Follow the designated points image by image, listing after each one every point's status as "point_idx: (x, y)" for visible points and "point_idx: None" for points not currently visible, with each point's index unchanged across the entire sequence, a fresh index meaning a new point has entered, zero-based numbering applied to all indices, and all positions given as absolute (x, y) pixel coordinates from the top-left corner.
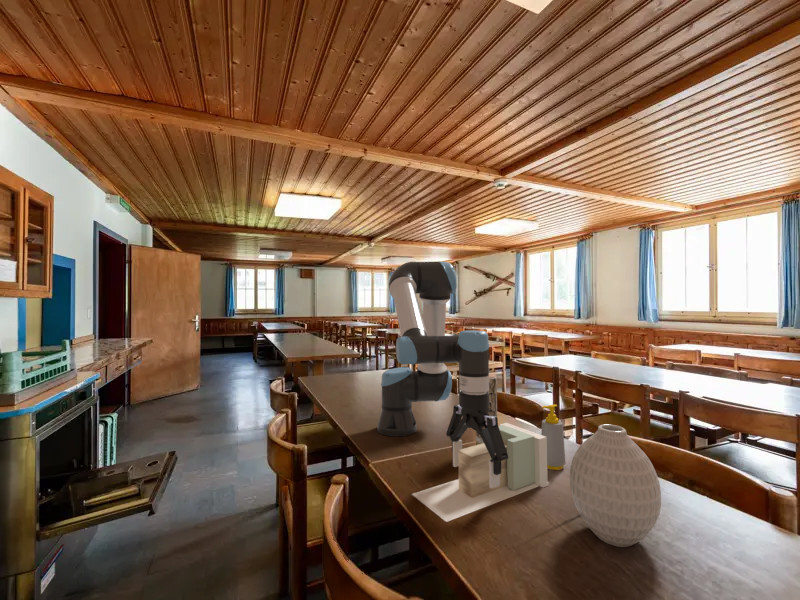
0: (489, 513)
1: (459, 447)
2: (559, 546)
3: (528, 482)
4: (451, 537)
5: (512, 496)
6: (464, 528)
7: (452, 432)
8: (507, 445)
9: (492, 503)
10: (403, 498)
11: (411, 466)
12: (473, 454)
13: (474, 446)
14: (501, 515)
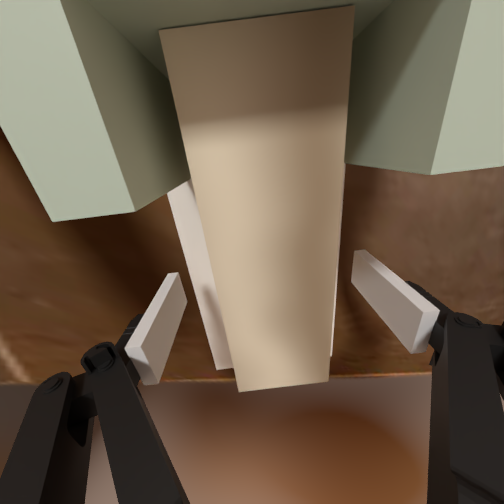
0: (347, 270)
1: (159, 334)
2: None
3: None
4: (357, 355)
5: (343, 179)
6: (353, 331)
7: (74, 412)
8: (397, 168)
9: (337, 253)
10: (215, 374)
11: (61, 320)
12: (313, 366)
13: (233, 322)
14: (369, 252)
